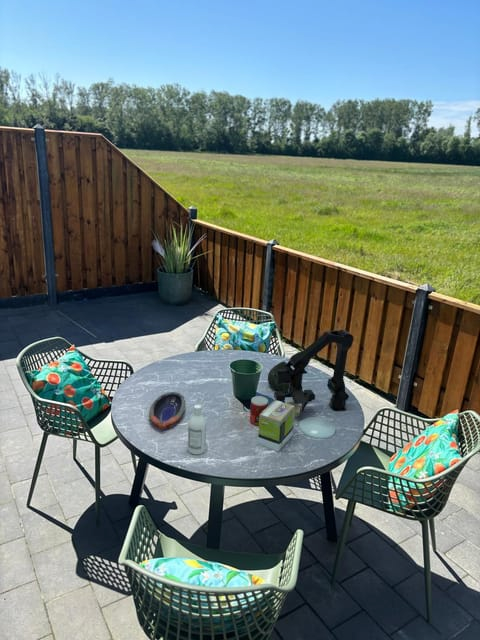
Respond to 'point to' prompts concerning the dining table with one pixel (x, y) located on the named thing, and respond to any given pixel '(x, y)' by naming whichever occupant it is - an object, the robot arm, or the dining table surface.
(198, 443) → the bath foam
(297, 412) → the beech cube
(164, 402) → the dish
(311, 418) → the ceramic plate
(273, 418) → the tea box
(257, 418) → the canned food
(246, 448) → the dining table surface
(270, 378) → the squash
